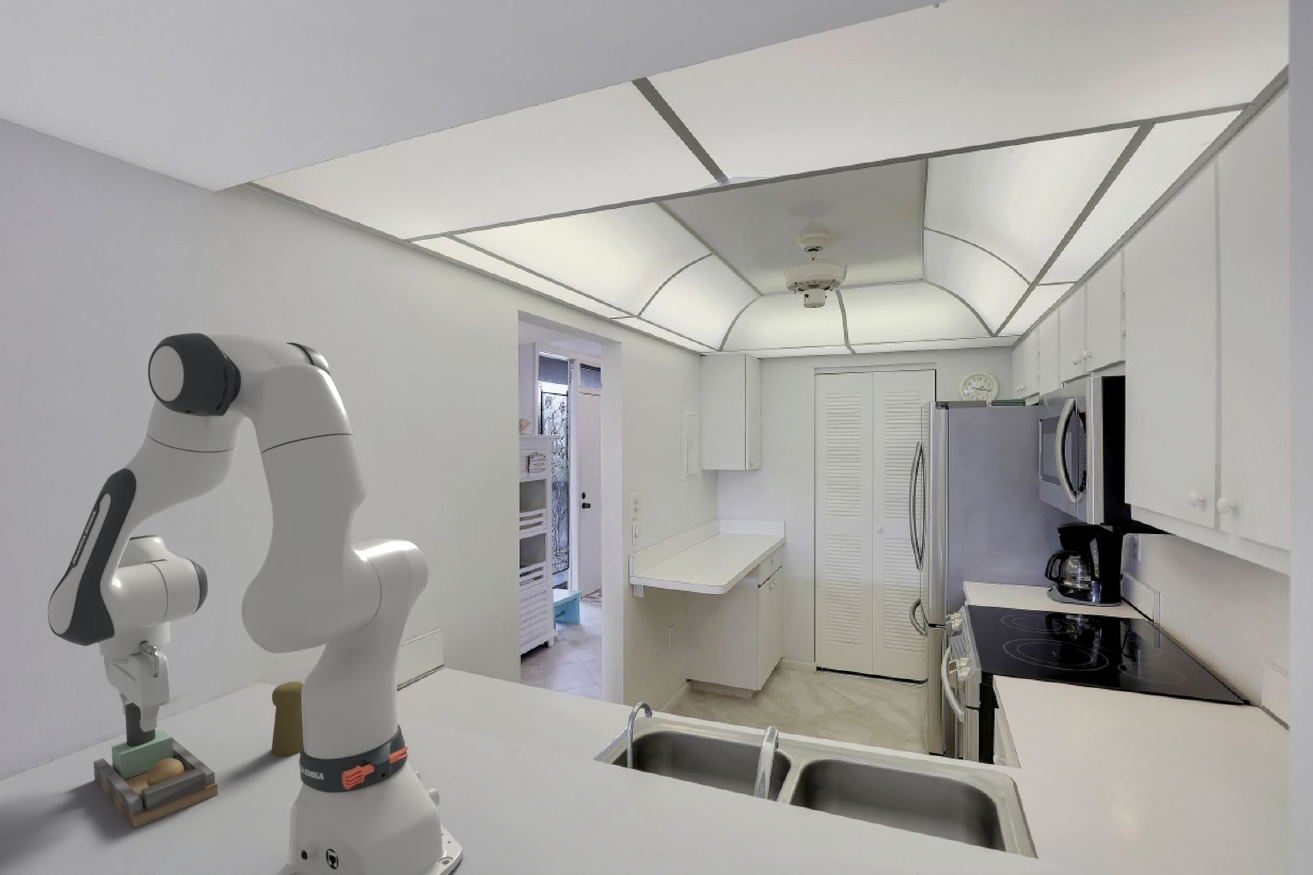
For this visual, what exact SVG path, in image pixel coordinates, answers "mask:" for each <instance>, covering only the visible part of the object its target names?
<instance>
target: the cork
mask: <svg viewBox="0 0 1313 875" xmlns="http://www.w3.org/2000/svg"><path fill="white" fill-rule="evenodd" d="M303 685H304V682H301V681H289V682H285V683H282V684H280V685H278V686H277V687H275V688H274V689H273V690H272V694H271V701H272V705H274V706H275V714H274V721H273V722H274V724H273V732H272V742H271V743H272V744H271V755H272V756H276V757H286V756H292V755H295V754H298V753H299V754H300V750H301V747H302V746H303V722H302V700H301V694H302V688H303Z"/></svg>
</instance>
